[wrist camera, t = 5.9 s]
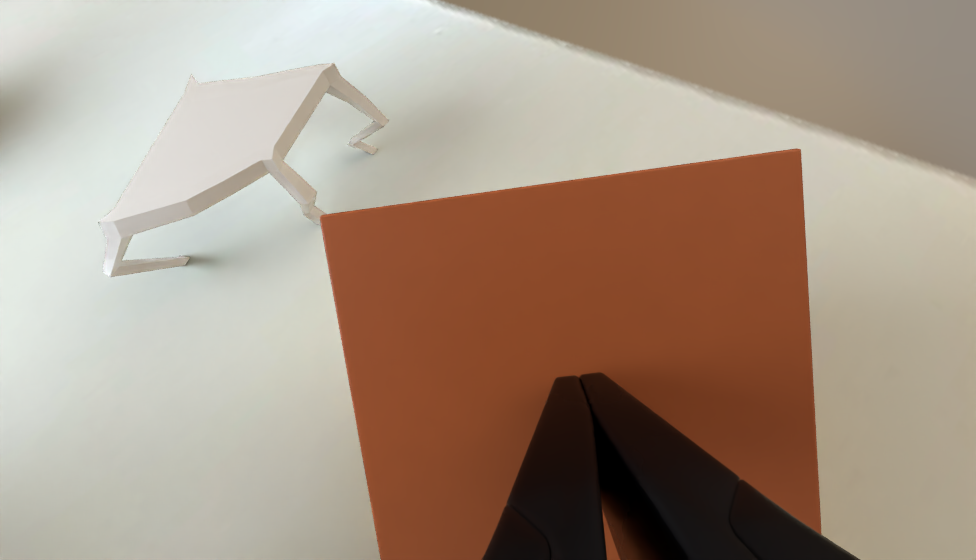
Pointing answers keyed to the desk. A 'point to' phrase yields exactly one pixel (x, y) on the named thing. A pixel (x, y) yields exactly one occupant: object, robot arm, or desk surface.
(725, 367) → the lunchbox lid
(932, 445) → the desk surface
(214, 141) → the white angular stand
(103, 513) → the desk surface
